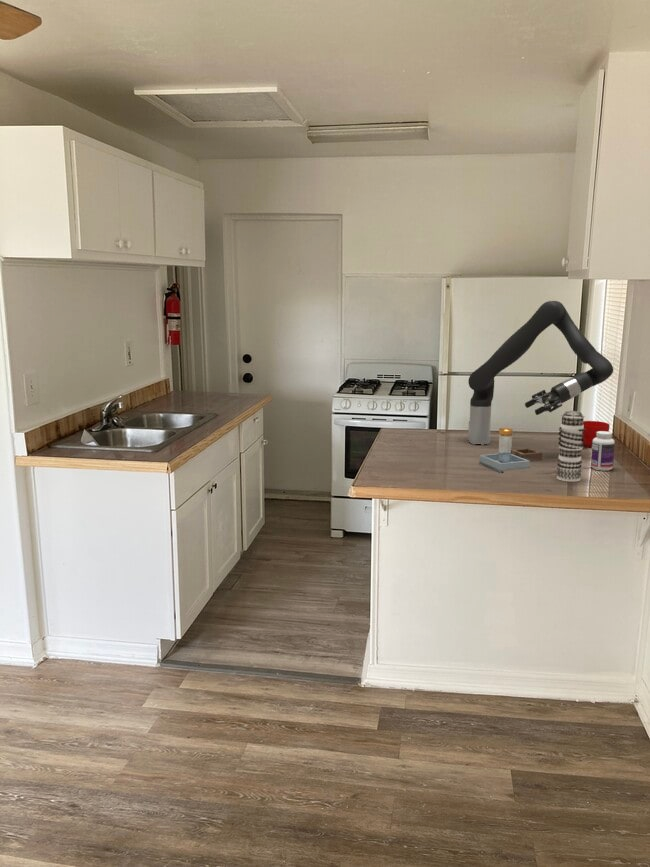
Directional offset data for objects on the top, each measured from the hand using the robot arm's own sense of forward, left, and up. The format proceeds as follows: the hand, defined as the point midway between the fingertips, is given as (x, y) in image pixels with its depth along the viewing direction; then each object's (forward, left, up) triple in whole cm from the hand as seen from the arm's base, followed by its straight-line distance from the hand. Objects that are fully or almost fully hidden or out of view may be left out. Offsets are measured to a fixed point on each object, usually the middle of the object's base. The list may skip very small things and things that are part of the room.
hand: (530, 409), depth 286 cm
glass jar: (+5, -15, -20) cm, 25 cm away
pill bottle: (+21, +19, -21) cm, 35 cm away
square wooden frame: (0, -1, -21) cm, 21 cm away
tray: (+5, -15, -21) cm, 26 cm away
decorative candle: (+28, -2, -21) cm, 35 cm away
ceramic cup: (-12, +41, -21) cm, 48 cm away
